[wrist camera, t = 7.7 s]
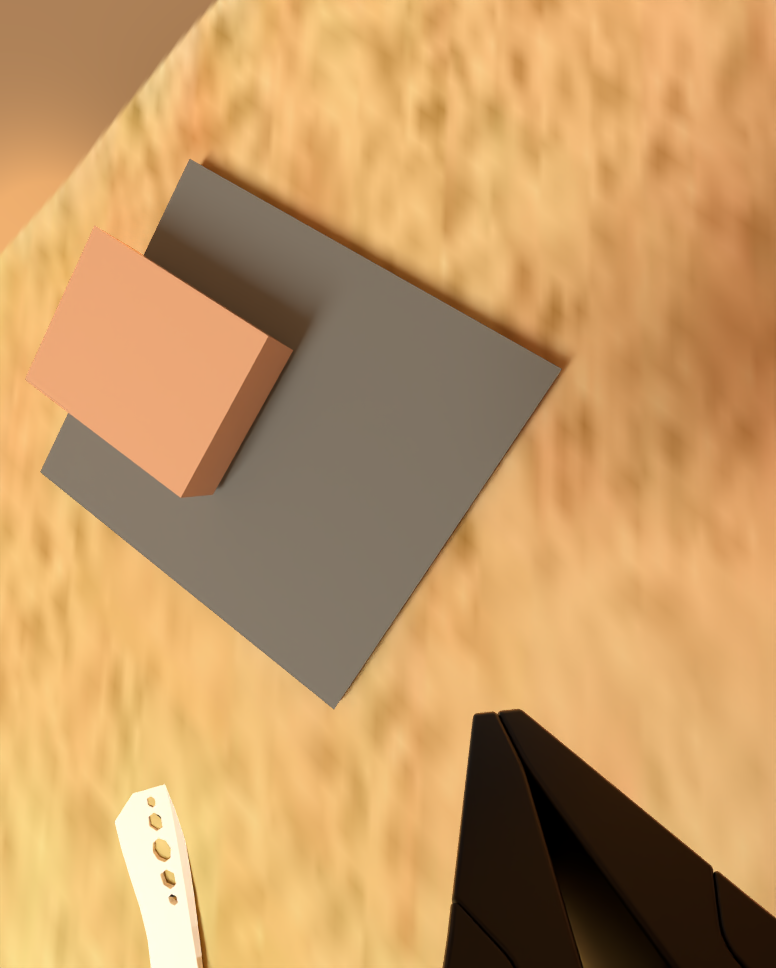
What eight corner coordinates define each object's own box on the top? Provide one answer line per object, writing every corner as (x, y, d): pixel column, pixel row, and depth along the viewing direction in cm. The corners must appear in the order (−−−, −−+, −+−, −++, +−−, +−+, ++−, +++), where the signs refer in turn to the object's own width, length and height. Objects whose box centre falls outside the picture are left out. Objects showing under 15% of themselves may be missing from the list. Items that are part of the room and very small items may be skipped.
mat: (559, 372, 17) (561, 369, 16) (338, 702, 19) (333, 709, 19) (198, 167, 20) (189, 158, 19) (52, 471, 22) (40, 472, 22)
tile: (268, 336, 16) (94, 225, 18) (180, 497, 17) (24, 379, 19) (296, 352, 18) (139, 252, 20) (217, 494, 20) (74, 388, 21)
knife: (104, 652, 22) (244, 702, 20) (131, 641, 23) (264, 686, 21) (15, 1220, 23) (138, 1321, 21) (47, 1173, 25) (164, 1262, 23)
